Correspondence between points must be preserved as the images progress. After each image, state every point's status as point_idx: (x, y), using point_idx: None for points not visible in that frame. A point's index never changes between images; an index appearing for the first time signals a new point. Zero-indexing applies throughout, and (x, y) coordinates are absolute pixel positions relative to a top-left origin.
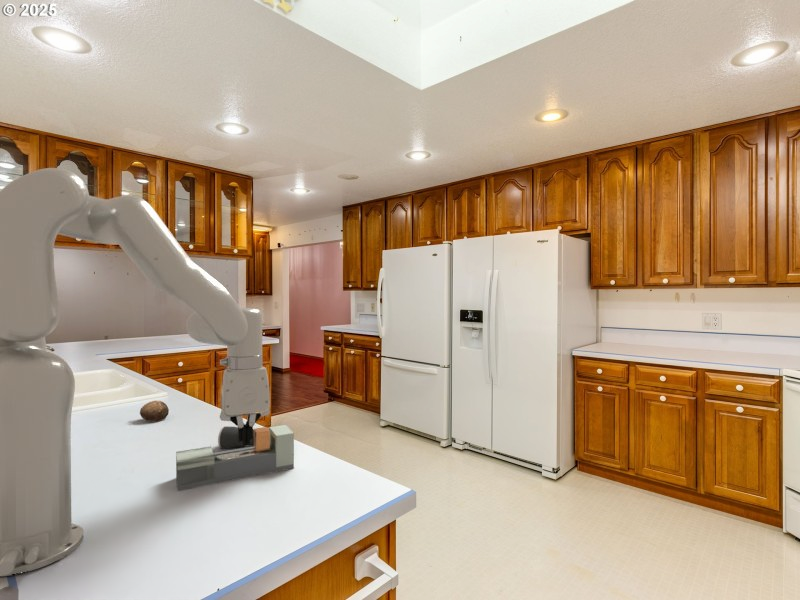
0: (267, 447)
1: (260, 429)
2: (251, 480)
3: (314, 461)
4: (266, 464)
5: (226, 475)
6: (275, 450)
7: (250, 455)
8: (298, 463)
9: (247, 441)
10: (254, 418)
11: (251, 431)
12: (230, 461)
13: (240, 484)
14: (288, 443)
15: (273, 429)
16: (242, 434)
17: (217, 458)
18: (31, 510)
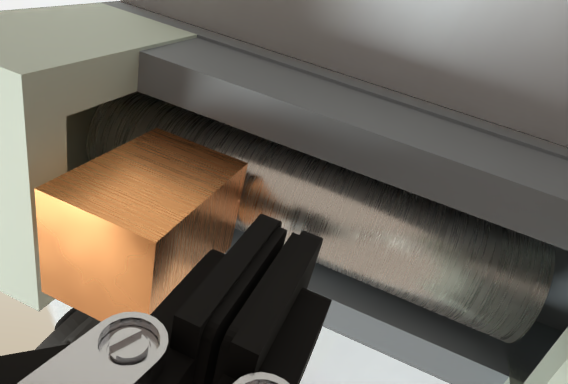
0: (161, 139)
1: (101, 280)
2: (382, 18)
3: (9, 6)
4: (240, 61)
5: (508, 142)
6: (129, 77)
7: (294, 174)
8: None
9: (274, 237)
10: (42, 380)
11: (187, 294)
12: (481, 170)
13: (471, 9)
14: (8, 25)
15: (20, 244)
16: (284, 319)
17: (531, 288)
18: None
